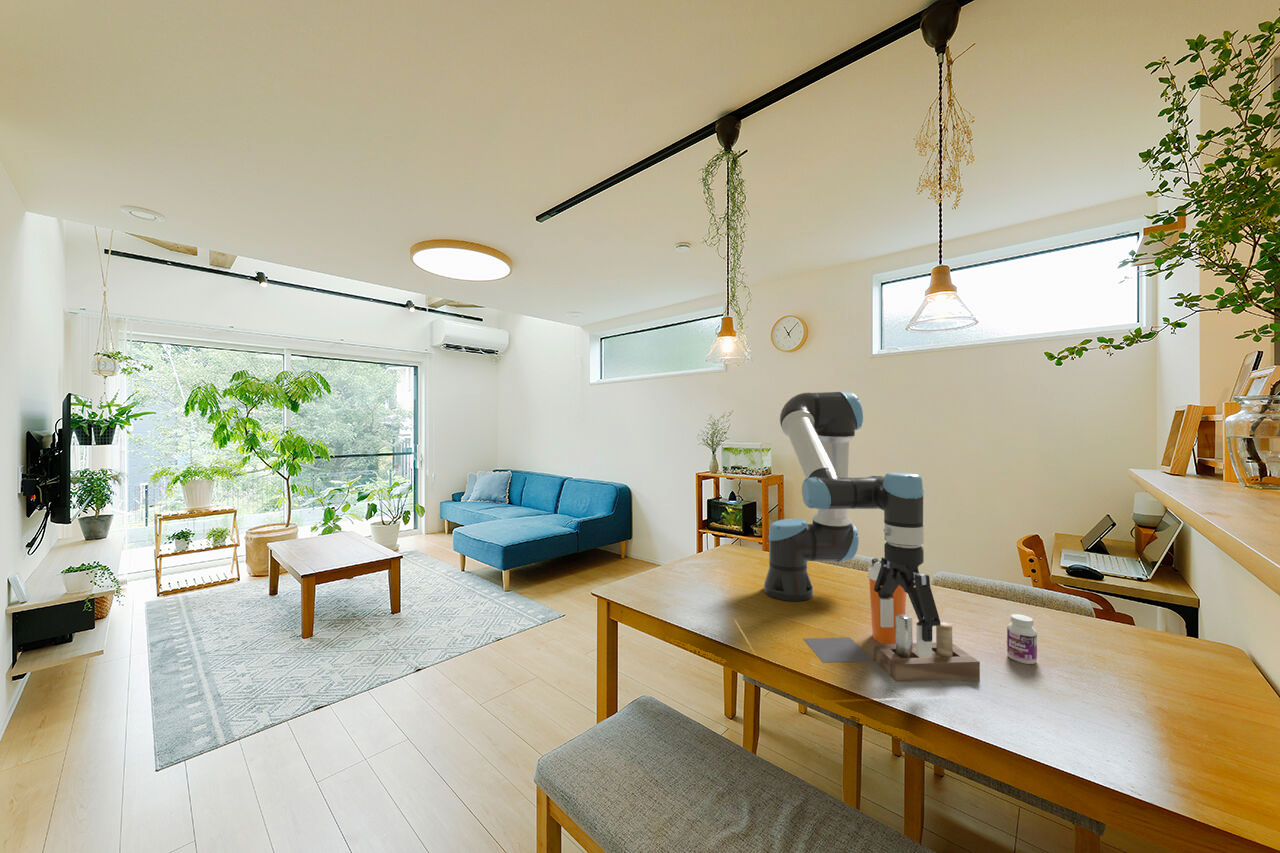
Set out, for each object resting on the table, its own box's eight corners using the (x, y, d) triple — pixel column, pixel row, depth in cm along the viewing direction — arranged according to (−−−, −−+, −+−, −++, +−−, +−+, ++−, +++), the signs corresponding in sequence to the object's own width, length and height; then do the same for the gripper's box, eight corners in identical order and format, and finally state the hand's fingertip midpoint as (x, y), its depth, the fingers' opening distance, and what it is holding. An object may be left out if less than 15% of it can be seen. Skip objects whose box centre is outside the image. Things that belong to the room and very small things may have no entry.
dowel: (933, 666, 105) (933, 622, 105) (946, 666, 105) (946, 622, 105) (942, 674, 102) (942, 628, 102) (956, 673, 102) (955, 627, 102)
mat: (803, 640, 119) (803, 638, 119) (849, 638, 119) (849, 637, 119) (823, 664, 107) (823, 662, 107) (875, 662, 107) (874, 661, 107)
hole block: (873, 661, 108) (873, 644, 108) (950, 659, 108) (950, 642, 108) (896, 683, 99) (896, 664, 99) (979, 680, 99) (979, 661, 99)
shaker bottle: (914, 650, 113) (913, 567, 113) (874, 647, 115) (873, 565, 115) (901, 633, 122) (900, 556, 122) (864, 631, 124) (863, 555, 123)
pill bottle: (1006, 659, 108) (1006, 617, 108) (1007, 651, 112) (1007, 610, 112) (1037, 667, 104) (1036, 624, 104) (1037, 658, 108) (1037, 616, 108)
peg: (893, 667, 105) (892, 614, 105) (907, 667, 105) (906, 613, 105) (901, 675, 102) (901, 620, 102) (916, 675, 102) (915, 619, 102)
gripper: (858, 531, 116) (859, 617, 116) (923, 560, 91) (924, 669, 91) (888, 530, 116) (889, 616, 116) (961, 559, 91) (961, 668, 91)
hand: (904, 640), depth 103 cm, fingers open, 13 cm apart
